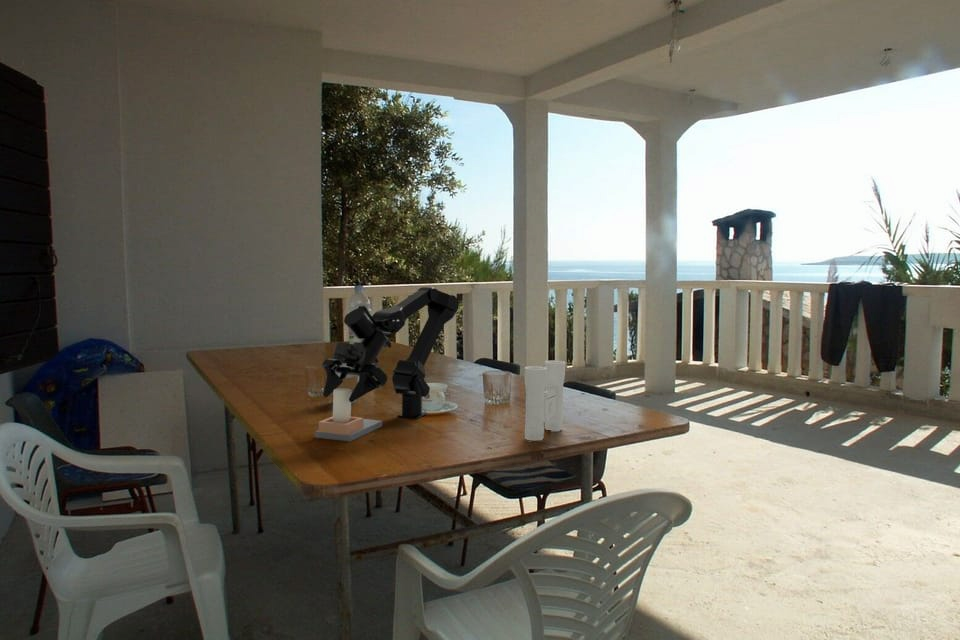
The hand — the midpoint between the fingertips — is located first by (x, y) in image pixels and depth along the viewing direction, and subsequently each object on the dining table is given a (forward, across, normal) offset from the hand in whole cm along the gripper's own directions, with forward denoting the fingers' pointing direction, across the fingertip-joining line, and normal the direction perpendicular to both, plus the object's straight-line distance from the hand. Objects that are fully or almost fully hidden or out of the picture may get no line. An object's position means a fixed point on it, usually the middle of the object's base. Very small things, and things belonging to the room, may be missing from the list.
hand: (337, 398), depth 165 cm
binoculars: (-17, +40, +31) cm, 53 cm away
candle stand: (+3, -1, +10) cm, 11 cm away
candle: (+5, 0, +7) cm, 8 cm away
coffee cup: (-14, -28, +28) cm, 42 cm away
